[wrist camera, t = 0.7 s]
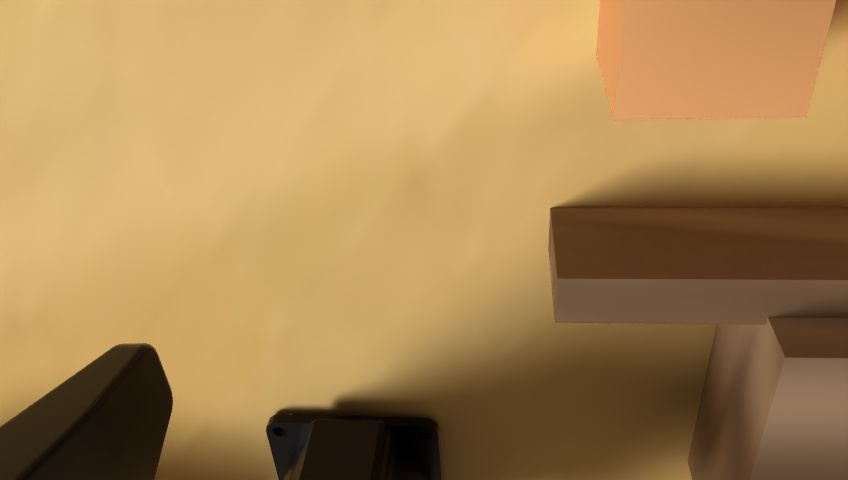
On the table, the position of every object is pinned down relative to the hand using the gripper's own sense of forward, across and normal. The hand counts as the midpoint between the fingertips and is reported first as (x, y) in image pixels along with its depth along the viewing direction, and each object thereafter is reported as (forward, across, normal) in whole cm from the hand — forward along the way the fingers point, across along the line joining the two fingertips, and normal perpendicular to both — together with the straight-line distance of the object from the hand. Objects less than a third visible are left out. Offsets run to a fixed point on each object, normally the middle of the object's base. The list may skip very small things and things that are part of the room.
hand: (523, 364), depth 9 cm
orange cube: (+13, -4, -1) cm, 13 cm away
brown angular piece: (+13, -8, +12) cm, 19 cm away
